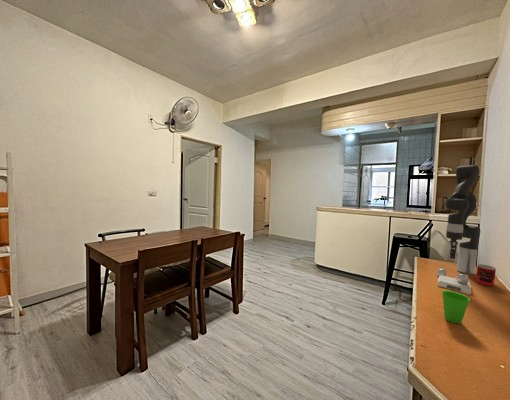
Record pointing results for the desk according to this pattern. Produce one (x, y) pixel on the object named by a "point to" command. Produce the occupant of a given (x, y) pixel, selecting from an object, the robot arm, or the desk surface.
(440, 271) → the disc
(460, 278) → the cylinder
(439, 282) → the scale
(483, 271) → the canned food
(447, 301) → the cup
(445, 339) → the desk surface
